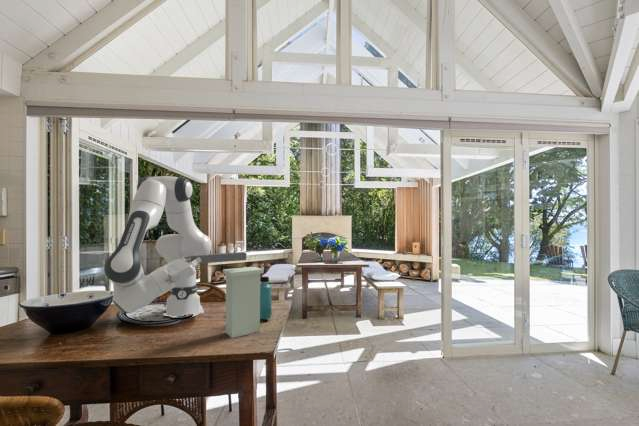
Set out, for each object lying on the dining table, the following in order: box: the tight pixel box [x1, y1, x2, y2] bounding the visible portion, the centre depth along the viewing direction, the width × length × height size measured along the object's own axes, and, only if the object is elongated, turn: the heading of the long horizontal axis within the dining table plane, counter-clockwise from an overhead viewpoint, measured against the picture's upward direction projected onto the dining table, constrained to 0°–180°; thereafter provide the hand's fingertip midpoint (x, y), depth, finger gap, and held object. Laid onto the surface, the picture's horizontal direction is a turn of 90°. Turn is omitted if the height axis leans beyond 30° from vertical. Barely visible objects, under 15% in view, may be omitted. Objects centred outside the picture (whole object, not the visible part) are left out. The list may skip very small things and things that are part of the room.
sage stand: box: [222, 266, 265, 339], centre depth 134 cm, size 14×9×26 cm, turn 126°
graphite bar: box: [188, 251, 247, 265], centre depth 128 cm, size 22×3×3 cm, turn 126°
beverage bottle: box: [260, 276, 273, 320], centre depth 150 cm, size 6×7×20 cm
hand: (198, 257), depth 124 cm, fingers closed on graphite bar, 3 cm apart
